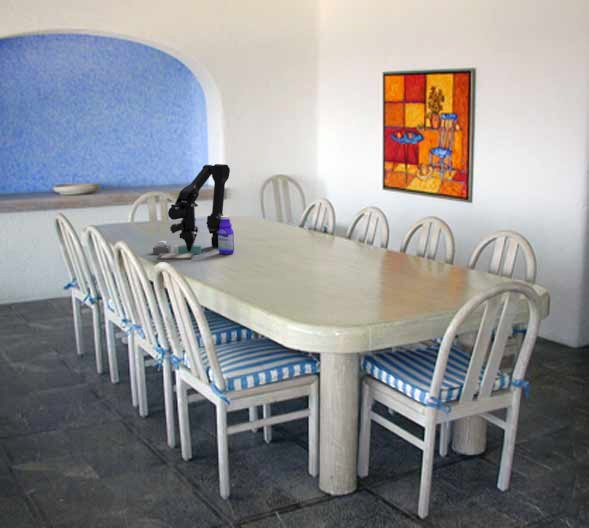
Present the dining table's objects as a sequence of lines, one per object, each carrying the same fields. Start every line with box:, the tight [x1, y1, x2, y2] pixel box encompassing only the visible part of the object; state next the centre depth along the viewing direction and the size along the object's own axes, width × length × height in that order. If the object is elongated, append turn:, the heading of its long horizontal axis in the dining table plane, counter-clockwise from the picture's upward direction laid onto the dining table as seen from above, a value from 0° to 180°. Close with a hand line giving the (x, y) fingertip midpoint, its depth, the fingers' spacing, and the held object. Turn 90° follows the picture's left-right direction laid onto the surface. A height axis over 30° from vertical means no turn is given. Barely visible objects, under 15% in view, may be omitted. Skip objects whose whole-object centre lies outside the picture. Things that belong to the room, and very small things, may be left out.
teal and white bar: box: [173, 244, 202, 255], centre depth 356 cm, size 12×4×4 cm, turn 89°
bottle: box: [217, 215, 235, 255], centre depth 353 cm, size 7×6×17 cm
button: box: [156, 240, 167, 247], centre depth 357 cm, size 4×4×3 cm
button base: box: [152, 244, 172, 255], centre depth 357 cm, size 7×7×3 cm
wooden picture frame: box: [156, 252, 195, 260], centre depth 347 cm, size 15×11×1 cm
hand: (189, 250), depth 356 cm, fingers closed on teal and white bar, 3 cm apart
